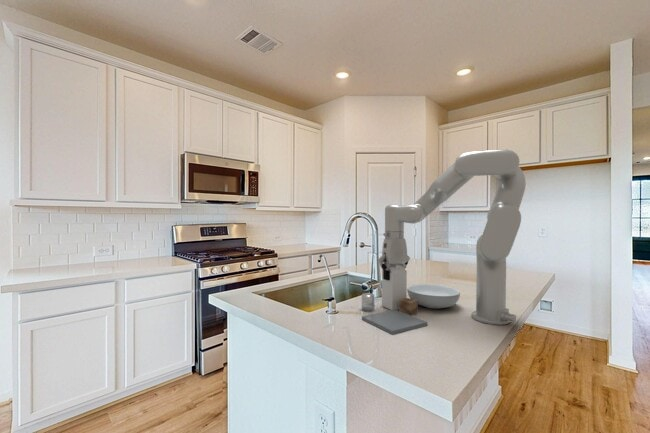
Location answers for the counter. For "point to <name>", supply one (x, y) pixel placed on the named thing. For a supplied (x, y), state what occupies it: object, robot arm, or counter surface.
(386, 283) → the milk carton
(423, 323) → the plate
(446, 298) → the serving bowl
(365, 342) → the counter surface
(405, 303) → the walnut block
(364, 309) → the glass jar
